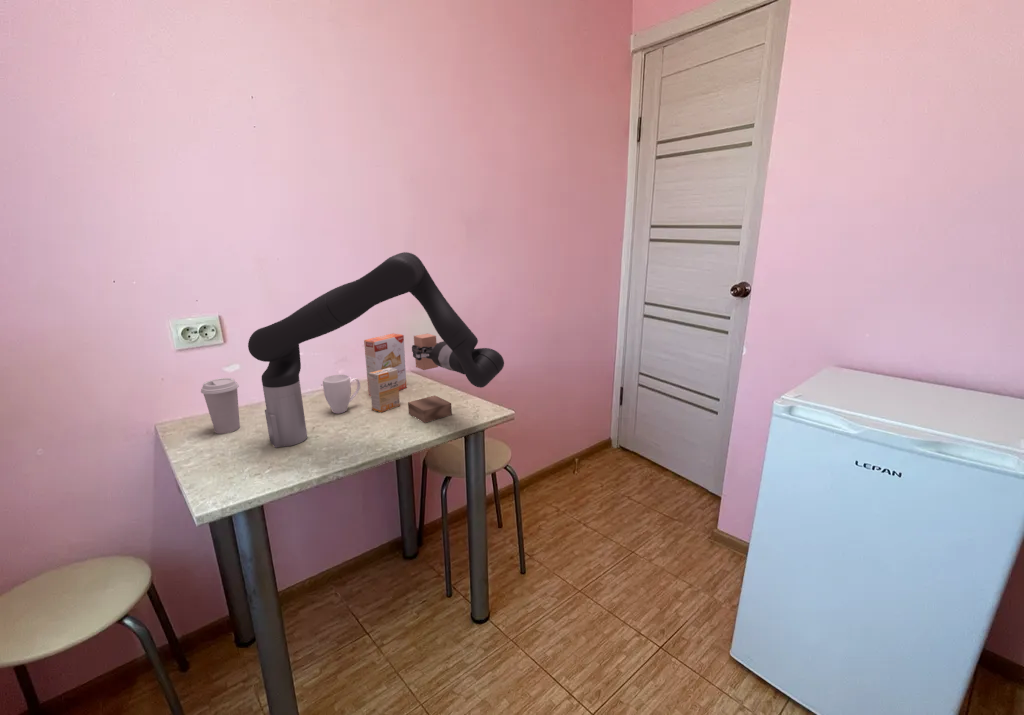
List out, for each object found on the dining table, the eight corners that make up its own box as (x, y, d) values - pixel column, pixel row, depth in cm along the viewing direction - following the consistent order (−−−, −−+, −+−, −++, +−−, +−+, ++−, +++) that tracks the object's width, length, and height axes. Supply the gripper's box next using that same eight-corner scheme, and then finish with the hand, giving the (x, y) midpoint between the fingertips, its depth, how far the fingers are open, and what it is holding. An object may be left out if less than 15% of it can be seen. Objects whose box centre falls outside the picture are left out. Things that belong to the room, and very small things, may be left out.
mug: (333, 417, 147) (329, 383, 144) (322, 411, 153) (318, 378, 150) (367, 407, 156) (364, 375, 153) (355, 401, 161) (352, 370, 158)
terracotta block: (423, 370, 141) (421, 338, 139) (416, 367, 145) (413, 335, 143) (438, 367, 144) (436, 335, 142) (429, 364, 148) (427, 333, 146)
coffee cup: (212, 425, 142) (203, 379, 138) (247, 421, 146) (239, 375, 142) (205, 438, 134) (195, 389, 130) (243, 432, 137) (234, 384, 133)
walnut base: (424, 422, 142) (423, 410, 141) (408, 413, 150) (407, 402, 149) (451, 414, 149) (451, 403, 148) (435, 406, 156) (434, 395, 155)
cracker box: (379, 398, 164) (374, 341, 159) (368, 395, 167) (362, 339, 162) (408, 388, 175) (404, 334, 170) (396, 385, 179) (392, 332, 173)
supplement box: (380, 413, 151) (377, 374, 147) (371, 410, 154) (368, 372, 150) (400, 405, 157) (397, 368, 154) (391, 403, 160) (388, 366, 157)
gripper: (470, 339, 136) (440, 331, 149) (427, 347, 127) (399, 338, 140) (471, 364, 138) (441, 354, 151) (429, 374, 129) (401, 362, 142)
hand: (421, 346), depth 145 cm, fingers closed on terracotta block, 5 cm apart
